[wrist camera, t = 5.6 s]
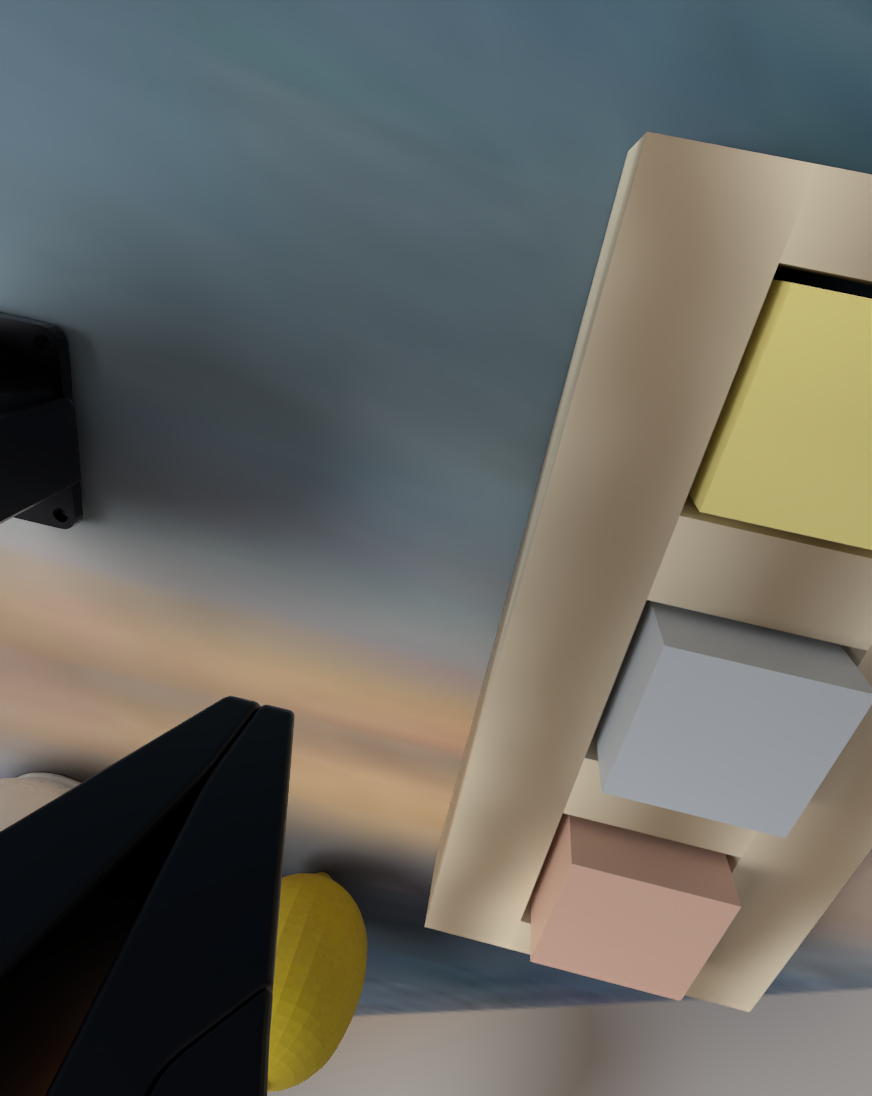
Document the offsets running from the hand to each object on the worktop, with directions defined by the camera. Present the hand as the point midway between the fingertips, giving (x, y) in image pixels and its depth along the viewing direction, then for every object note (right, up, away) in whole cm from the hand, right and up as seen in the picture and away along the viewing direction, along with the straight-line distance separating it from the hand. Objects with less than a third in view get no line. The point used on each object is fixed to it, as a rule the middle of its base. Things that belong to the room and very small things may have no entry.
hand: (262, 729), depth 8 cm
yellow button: (+12, +6, +8) cm, 15 cm away
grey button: (+10, -2, +11) cm, 15 cm away
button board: (+10, -1, +12) cm, 16 cm away
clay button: (+9, -8, +15) cm, 19 cm away
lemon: (-3, -12, +20) cm, 23 cm away
